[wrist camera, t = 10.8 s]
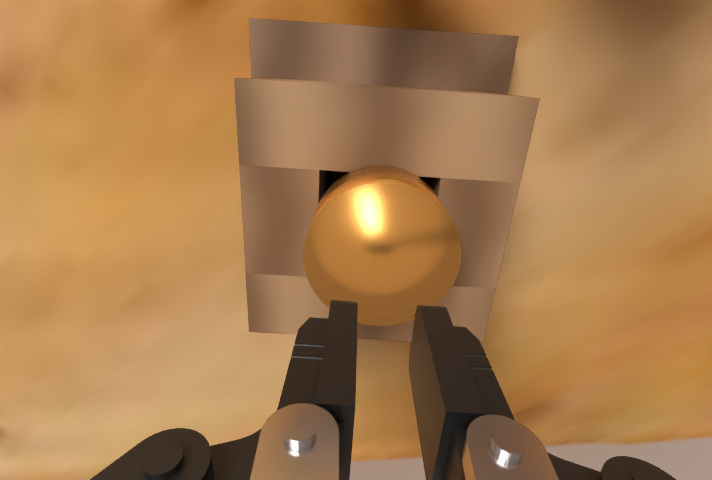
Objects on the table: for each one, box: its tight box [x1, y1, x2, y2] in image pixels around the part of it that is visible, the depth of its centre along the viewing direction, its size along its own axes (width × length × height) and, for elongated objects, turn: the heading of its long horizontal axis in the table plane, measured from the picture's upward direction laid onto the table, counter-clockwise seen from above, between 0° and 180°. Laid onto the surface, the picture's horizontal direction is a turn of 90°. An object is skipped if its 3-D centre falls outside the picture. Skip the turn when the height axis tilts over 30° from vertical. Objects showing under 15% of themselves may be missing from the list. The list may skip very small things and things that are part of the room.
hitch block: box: [234, 18, 540, 345], centre depth 22 cm, size 15×18×10 cm
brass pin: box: [303, 165, 461, 326], centre depth 19 cm, size 6×6×10 cm
